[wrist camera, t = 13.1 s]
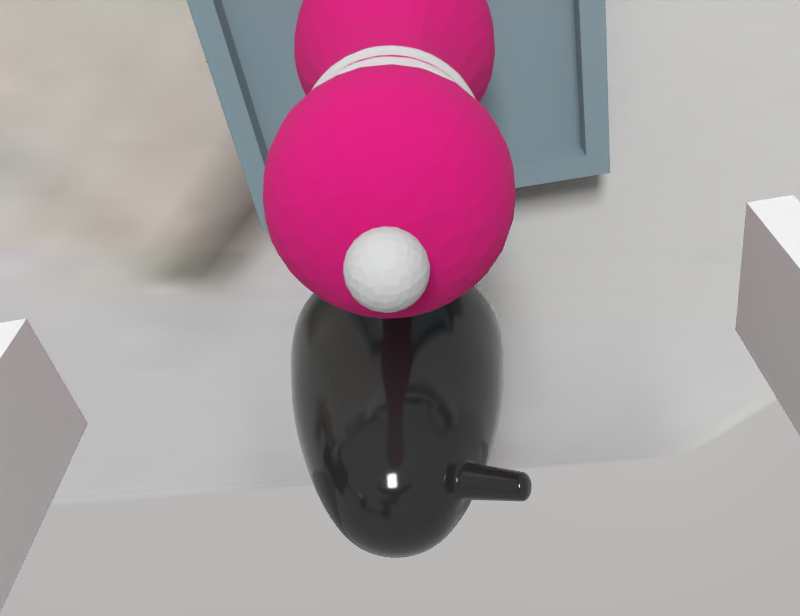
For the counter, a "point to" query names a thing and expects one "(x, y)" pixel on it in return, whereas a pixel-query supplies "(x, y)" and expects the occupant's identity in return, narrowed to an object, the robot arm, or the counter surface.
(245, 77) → the tray
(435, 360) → the black rounded piece
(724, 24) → the counter surface
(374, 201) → the pepper mill
